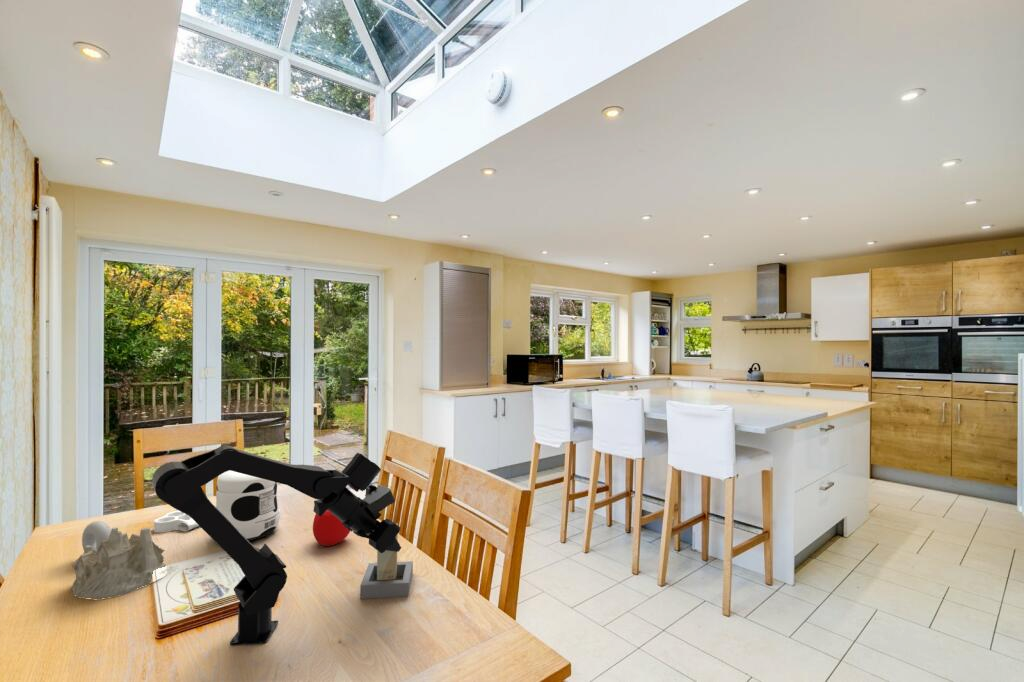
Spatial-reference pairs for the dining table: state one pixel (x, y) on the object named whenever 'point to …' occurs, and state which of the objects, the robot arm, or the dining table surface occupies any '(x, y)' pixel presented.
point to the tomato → (329, 529)
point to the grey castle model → (117, 565)
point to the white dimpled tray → (174, 522)
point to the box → (387, 564)
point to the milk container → (248, 503)
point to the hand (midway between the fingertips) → (392, 544)
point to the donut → (95, 534)
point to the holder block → (386, 582)
